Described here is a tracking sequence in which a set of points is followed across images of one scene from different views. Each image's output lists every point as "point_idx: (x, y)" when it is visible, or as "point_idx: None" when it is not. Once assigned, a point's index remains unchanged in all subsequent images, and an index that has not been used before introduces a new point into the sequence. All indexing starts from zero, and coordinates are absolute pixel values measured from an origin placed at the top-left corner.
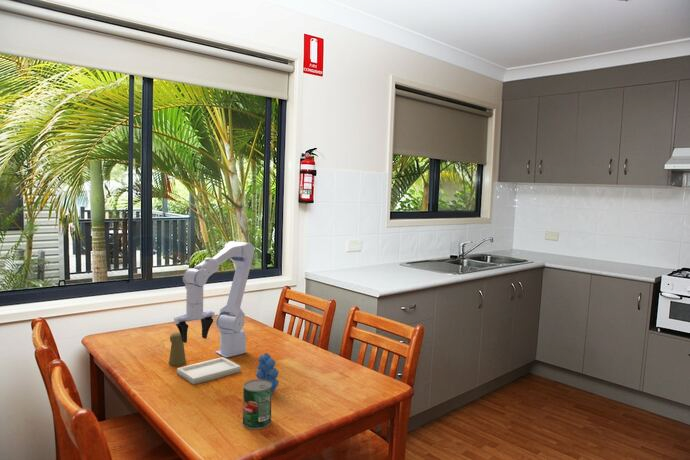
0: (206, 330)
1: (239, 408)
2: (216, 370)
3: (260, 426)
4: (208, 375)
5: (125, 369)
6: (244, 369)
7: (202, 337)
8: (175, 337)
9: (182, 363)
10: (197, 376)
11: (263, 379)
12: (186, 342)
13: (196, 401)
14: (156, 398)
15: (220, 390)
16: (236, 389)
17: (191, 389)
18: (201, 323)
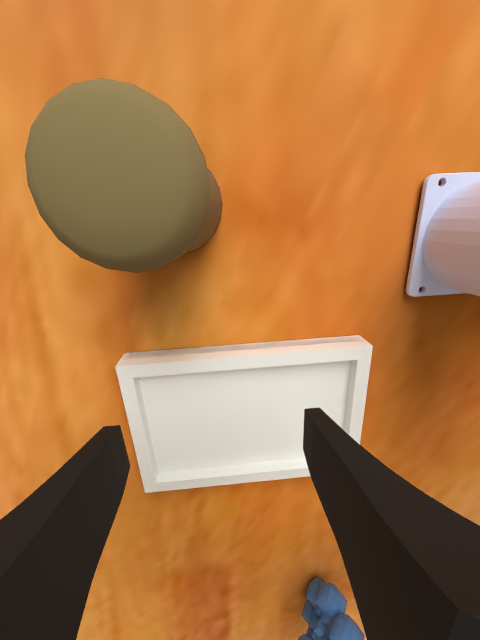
0: (338, 542)
1: (200, 619)
2: (269, 434)
3: None
4: (209, 483)
5: None
6: (370, 442)
7: (304, 414)
8: (75, 251)
9: (187, 251)
10: (166, 482)
11: (310, 634)
12: (127, 466)
13: (118, 562)
14: (4, 506)
15: (208, 536)
16: (251, 547)
17: (131, 497)
18: (385, 521)
